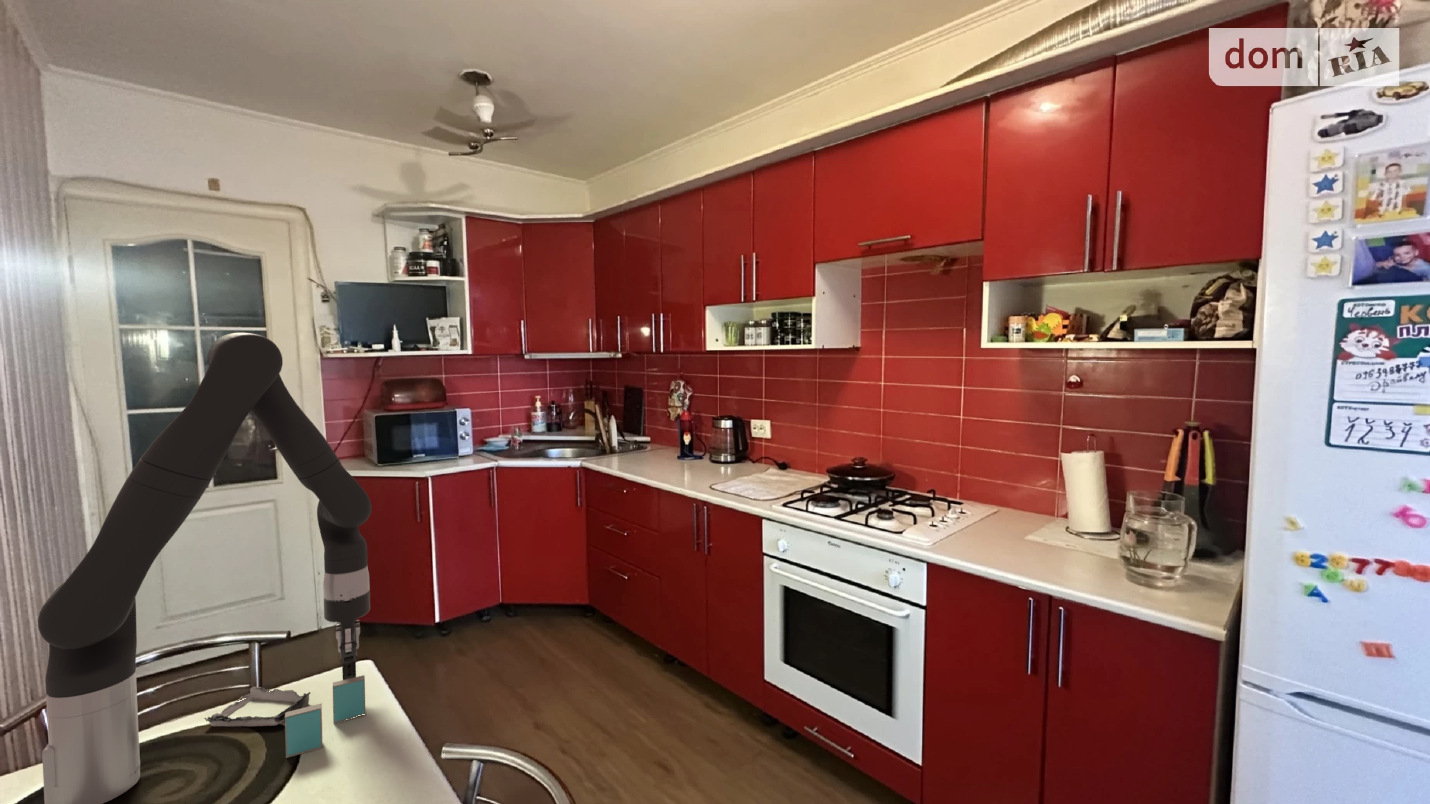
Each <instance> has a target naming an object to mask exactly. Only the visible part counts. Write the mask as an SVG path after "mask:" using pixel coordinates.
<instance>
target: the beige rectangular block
mask: <svg viewBox="0 0 1430 804" xmlns="http://www.w3.org/2000/svg"><path fill="white" fill-rule="evenodd" d="M365 680H366V677H365V674H364V675H358V676H356V677H354V678H350V679H346V680H343V679H342V680H338V681H333V682H332V710H333V713H332V714H333V715H332V719H333V721H332V722H333V724H338V722H339V723H342V722H345V721H344V720H346V719H350V720H352V719H351V718H353V717H356V716H358V715H362V714H365V715H366V681H365ZM353 719H354V718H353ZM341 721H342V722H341ZM346 721H347V720H346Z"/></svg>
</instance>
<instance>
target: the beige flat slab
mask: <svg viewBox="0 0 1430 804" xmlns="http://www.w3.org/2000/svg"><path fill="white" fill-rule="evenodd" d="M322 704H323V703H322V702H321V703H318V704H314V705H311V706H310V705H309V706H304V707H303V708H301V709H297V710H293V711H289V712H286V713H285V720H284V735H285V736H284V737H285V758H286V759H287V758H290V757H291V758H292V757H294V756H298V755H301V754H305V753H309V752H311V751H316V750H319V749H320V750H321V749H322V748H323V746H324V745H323V744H324V743H323V738H324V737H323V711H322V710H323V708H322V707H323V706H322Z"/></svg>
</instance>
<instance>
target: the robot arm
mask: <svg viewBox="0 0 1430 804" xmlns="http://www.w3.org/2000/svg"><path fill="white" fill-rule="evenodd" d="M207 364H208V367H207V371H206V372H205V374H204V377H203V378H202V380H201V382H200V384H199V386H198V388H197V389H196V390H195V392H194V395H193V396H192V398H191V400H190V401H189V402H188V404H186V406H185V407H184V409H183V410H182V411H181V412H180V413H179V414H178V415H177V416H176V417H174V419H173V420H172V421H171V422H170V423H169V424H168V425H167V426H166V427H165V428H164V429H163V430H162V431H161V432H160V433H159V434H158V435H157V437H156V438H154V440H153V441H152V442H151V444H150V445H149V446H148V447H147V449H146V450H145V451H144V453H143V454H142V456H141V457H140V458H139V460H138V461H137V463H136V464H135V466H134V467H133V469H132V470H131V472H130V473H129V475H128V477H127V478H126V480H125V482H124V483H123V484H122V487H121V488H120V490H119V492H118V493H117V496H116V497H115V500H114V501H113V503H112V505H111V506H110V509H109V511H108V512H107V515H106V518H105V519H104V522H103V524H102V526H101V528H100V530H99V533H98V534H97V536H96V538H95V540H94V542H93V544H92V546H91V547H90V549H89V550H88V551H87V553H86V555H85V556H84V557H83V559H82V560H81V561H80V562H79V564H78V565H77V566H76V568H75V569H74V570H73V571H72V573H70V575H69V576H68V578H67V579H65V581H64V582H63V583H61V584H60V585H59V586H58V587H57V588H56V589H54V591H53V593H52V594H51V595H50V596H49V597H48V599H46V601H45V602H44V604H43V605H42V607H41V609H40V610H39V614H38V617H37V628H38V631H39V633H40V635H41V638H42V639H43V640H44V641H45V642H46V643H48V645H49V647H48V649H49V650H48V651H49V652H48V660H47V661H48V663H47V669H46V673H45V693H46V694H45V696H46V698H45V699H46V716H47V717H46V718H47V736H48V737H47V738H48V743H47V744H46V746H45V747H44V749H43V750H42V752H41V755H42V756H41V757H42V759H41V760H42V777H43V779H42V780H43V781H42V782H43V797H44V798H43V800H44V804H104V803H107V802H109V801H112V800H113V799H115V798H117V797H119V796H121V795H122V794H124V793H126V792H128V790H130V789H131V788H133V787H134V785H136V784H137V783H138V782H139V780H140V777H141V759H140V735H139V734H140V733H139V716H138V715H139V713H138V692H137V665H136V664H137V662H136V660H137V648H138V647H137V645H138V643H137V642H138V638H137V637H138V636H137V635H138V634H137V599H136V598H137V594H138V592H139V590H140V588H141V586H142V584H143V581H144V580H145V578H146V576H147V574H148V572H149V570H150V569H151V567H152V566H153V563H154V562H155V560H156V558H158V555H159V554H160V553H161V551H162V550H163V549H164V548H165V546H166V545H167V544H168V542H170V540H171V539H172V538H173V536H175V533H177V531H178V530H179V529H180V527H181V526H182V524H183V523H184V522H185V521H186V519H187V518H188V517H189V515H190V514H191V513H192V511H193V510H194V508H195V507H196V505H197V504H198V502H199V501H200V499H201V498H202V496H203V495H204V493H205V491H206V490H207V488H208V487H209V485H210V483H211V481H212V480H213V478H214V477H215V475H216V473H217V472H218V469H219V468H220V466H221V464H222V462H223V461H224V458H225V457H226V455H227V453H228V451H229V449H230V447H231V446H232V444H233V441H234V440H235V437H236V435H237V433H238V432H239V430H240V428H241V426H242V424H243V422H244V421H245V420H246V418H247V416H248V415H249V413H250V412H252V413H253V415H254V416H255V417H256V418H257V420H258V421H259V422H260V424H261V426H262V428H264V430H265V431H266V433H267V435H268V436H269V438H270V439H271V441H272V442H273V444H274V445H275V447H276V449H277V450H278V452H279V453H280V455H281V456H282V458H283V459H284V461H285V462H286V464H287V465H288V467H289V468H290V470H291V471H292V473H293V474H294V476H295V477H296V478H297V481H299V482H300V483H301V485H303V487H305V488H306V489H307V490H308V491H310V492H312V493H313V494H314V495H315V497H316V498H317V499H318V504H317V508H316V515H317V516H316V517H317V524H318V525H317V526H318V529H319V533H320V537H321V541H322V544H323V547H324V548H323V549H324V553H323V557H324V558H323V560H324V561H323V562H324V567H323V568H324V575H323V583H322V585H323V586H322V587H323V588H322V589H323V614H324V615H323V618H324V619H325V621H327V622H329V623H337V624H335V638H336V640H337V652H338V653H339V654H340V663H341V667H342V669H341V670H342V671H341V673H342V680H346V679H350V678H354V677H357V665H356V663H357V662H356V661H357V659H358V651H357V650H358V649H359V647H360V641H359V640H360V634H361V625H360V623H361V621H360V618H362V617H365V616H366V615H367V614H368V613H369V612H370V611H371V590H370V589H371V586H370V572H369V569H368V544H367V541H366V539H365V538H364V536H363V535H362V534H361V532H360V526H361V525H363V524H364V523H365V522H367V521H368V520H369V518H370V516H371V513H372V509H373V507H372V502H371V500H370V497H369V495H368V493H367V492H366V491H365V489H364V488H363V487H362V486H361V485H360V484H359V482H358V481H357V480H356V479H355V478H354V477H353V476H352V475H351V474H350V472H349V471H347V470H346V468H345V467H344V465H342V462H341V460H340V458H338V456H337V454H336V452H335V451H334V450H333V448H332V446H331V445H330V443H328V441H327V440H326V438H325V436H324V435H323V434H322V433H321V432H320V430H319V429H318V428H317V426H316V425H315V424H314V423H313V422H312V420H311V419H310V418H309V417H308V416H307V415H306V414H305V412H304V411H303V410H302V409H301V407H300V406H299V405H298V403H297V402H296V401H295V399H294V397H293V396H292V395H291V393H290V392H289V390H288V389H287V386H286V385H285V383H284V381H283V380H282V376H281V375H280V373H281V371H282V368H283V355H282V352H281V350H280V348H279V347H278V346H277V345H276V343H275V342H273V341H272V340H271V339H270V338H267V337H266V336H264V335H261V334H258V333H257V334H255V333H252V332H251V333H250V332H233V333H228V334H225V335H221V336H220V337H219V338H217V339H216V340H214V341H213V343H212V344H211V345H210V347H209V349H208V352H207Z"/></svg>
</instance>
